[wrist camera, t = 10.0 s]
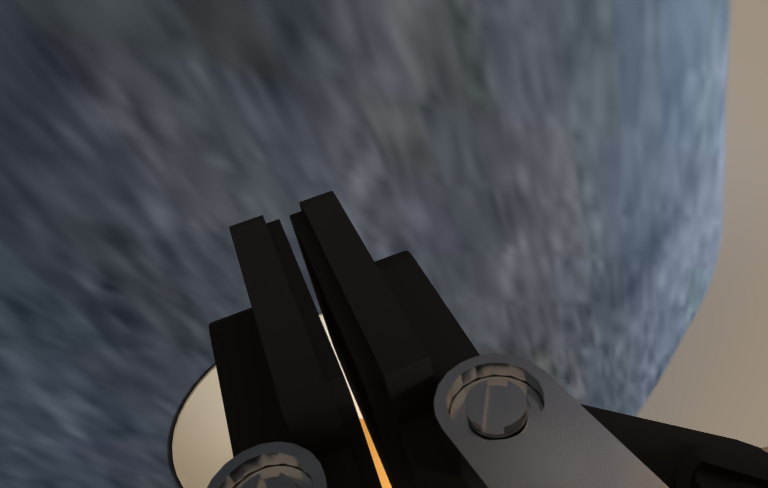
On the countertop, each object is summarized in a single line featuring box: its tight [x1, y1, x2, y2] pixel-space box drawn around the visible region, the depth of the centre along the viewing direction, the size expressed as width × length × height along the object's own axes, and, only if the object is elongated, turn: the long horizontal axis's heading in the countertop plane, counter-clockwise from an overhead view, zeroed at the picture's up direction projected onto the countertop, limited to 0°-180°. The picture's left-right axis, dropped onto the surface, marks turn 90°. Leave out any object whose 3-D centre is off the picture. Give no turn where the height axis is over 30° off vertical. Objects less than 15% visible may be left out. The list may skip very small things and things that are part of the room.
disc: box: [172, 313, 363, 488], centre depth 32 cm, size 14×14×1 cm
